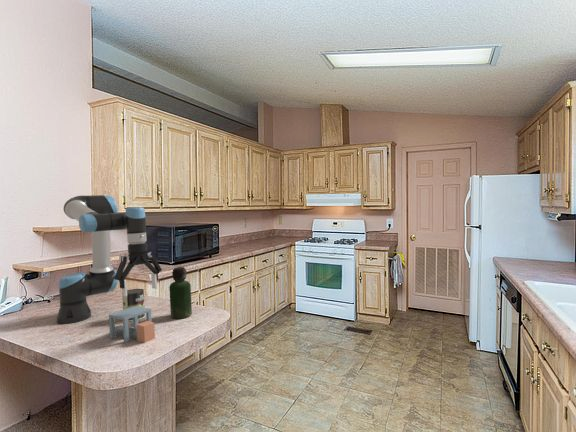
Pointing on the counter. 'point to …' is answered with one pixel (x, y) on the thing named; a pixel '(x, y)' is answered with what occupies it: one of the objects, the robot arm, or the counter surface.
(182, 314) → the green bottle
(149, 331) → the block
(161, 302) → the counter surface
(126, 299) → the coffee can
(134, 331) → the steel bar
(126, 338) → the blue toy stool
